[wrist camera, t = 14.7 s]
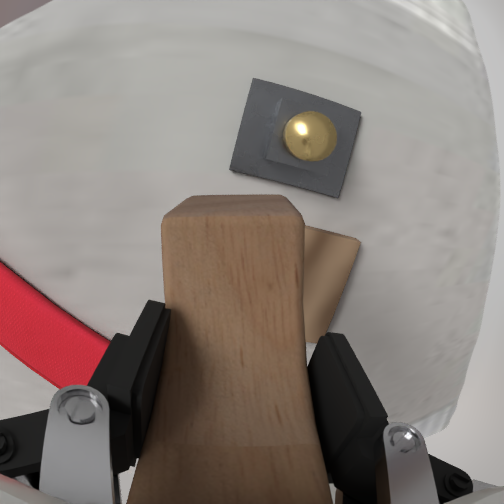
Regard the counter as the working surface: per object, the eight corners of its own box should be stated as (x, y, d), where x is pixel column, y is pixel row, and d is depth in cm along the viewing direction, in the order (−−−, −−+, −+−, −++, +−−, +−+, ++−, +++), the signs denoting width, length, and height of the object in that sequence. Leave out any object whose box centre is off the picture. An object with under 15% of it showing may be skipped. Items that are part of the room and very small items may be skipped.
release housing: (358, 112, 30) (374, 109, 26) (335, 196, 33) (349, 204, 29) (252, 79, 28) (255, 70, 24) (229, 169, 31) (228, 172, 27)
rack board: (355, 238, 35) (360, 242, 33) (318, 337, 39) (321, 343, 38) (266, 215, 33) (267, 219, 32) (236, 324, 37) (237, 331, 36)
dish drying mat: (145, 426, 45) (141, 442, 41) (-37, 297, 34) (-49, 306, 31) (188, 379, 41) (185, 397, 37) (-27, 225, 31) (-42, 232, 27)
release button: (334, 121, 26) (342, 120, 24) (323, 166, 27) (329, 167, 25) (289, 107, 25) (293, 104, 23) (277, 153, 26) (281, 153, 25)
